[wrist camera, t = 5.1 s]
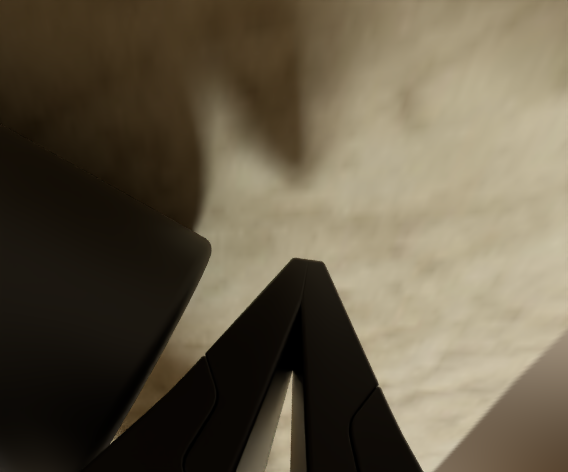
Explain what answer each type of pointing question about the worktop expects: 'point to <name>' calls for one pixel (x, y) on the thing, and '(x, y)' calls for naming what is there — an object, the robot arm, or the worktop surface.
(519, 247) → the worktop surface
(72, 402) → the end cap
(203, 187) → the worktop surface
